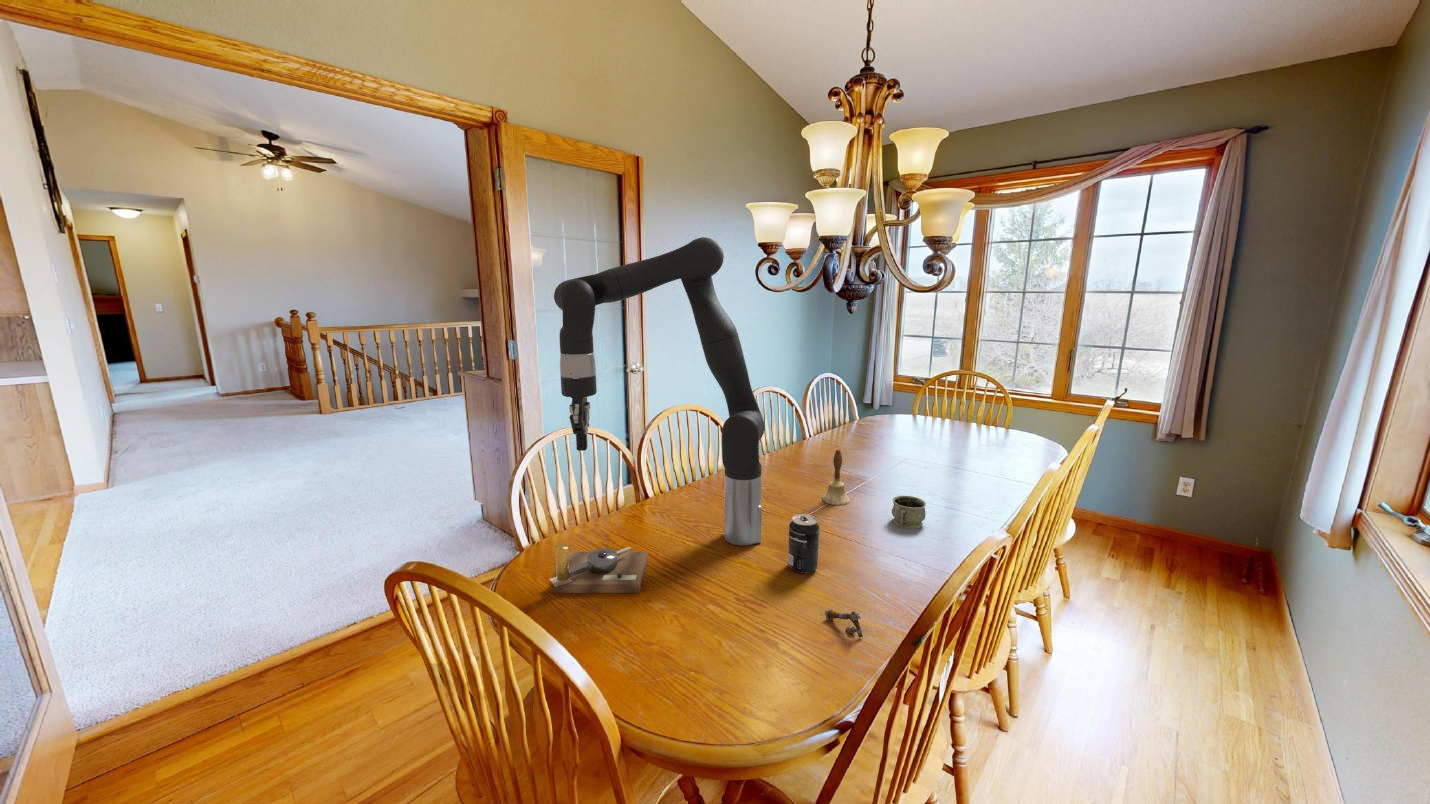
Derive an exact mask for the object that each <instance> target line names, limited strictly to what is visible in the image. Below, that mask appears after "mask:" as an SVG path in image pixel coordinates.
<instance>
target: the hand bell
mask: <svg viewBox="0 0 1430 804" xmlns="http://www.w3.org/2000/svg"><path fill="white" fill-rule="evenodd" d="M832 463H833V467H834V476H833V480H831V481H829V484H828V488H827V490H826V491H827V492H826V493H825V494H823V495H822V498H821V499H822V501H823V502H824V503H826V504H827V505H828V504H829V505H832V506H833V505H834V506H845V505H849V504H850V502H851V499H850V498H849V496H848V495H847V493H846V490H845V483H844V482H843V481H841V469H842V464H843V456H842V452H841V449H836V450H835V452H834V456H833V462H832Z"/></svg>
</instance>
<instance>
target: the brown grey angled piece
mask: <svg viewBox="0 0 1430 804" xmlns="http://www.w3.org/2000/svg"><path fill="white" fill-rule="evenodd" d="M824 615H825V618H826V619H825V620H826V621H828V622H830V621H832V620H833V619H839V620H844V621H847V620H850V622H851V623H852V624H853V626H851V625H849V626H847V627H846V628H845V631H846V632H847V633H851V635H852V634H854V633H856V634H857V636H858V638H863V637H864V635H863V630H862V628H861V626H860V623H859V620H860V619H861V615H860V613H857V612H856V611H851V613H849V612H837V611H833V608H829V609H827V610H825V611H824Z"/></svg>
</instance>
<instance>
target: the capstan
mask: <svg viewBox="0 0 1430 804" xmlns="http://www.w3.org/2000/svg"><path fill="white" fill-rule="evenodd" d="M589 552H590V553H589V554H588V557H587V558H588V562H586V563H583V564H580V565H578V566H575V567H573V568H570V569H569V557H568V556H569V545H567V544H566V543H561V544H557V545H555V547H554V555H555V558H554V559H555V570H556V571H555V572H556V577H557V580H558V581H566V580H568V579H569V578H570V577H572V576H575V575H577V574H580V573H582V572H585V571H587V570H590V571H592V572H595V573H605V572H609V571H611V570H613V569H615V568H616V567H617V556H619V555H621V554H624V553H626V552H632V547H631V546H627V547H625V548H621V549H620V550H617V551H616V550H614V549H612V548H598V549H594V550H593V551H589Z"/></svg>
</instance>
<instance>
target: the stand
mask: <svg viewBox="0 0 1430 804" xmlns="http://www.w3.org/2000/svg"><path fill="white" fill-rule="evenodd" d="M590 552H591V551H570V552H569V553H568V557H569V569H570V568H573V567H575V566H578V565H580V564H583V563H586V562H588V558H587V557H588V554H589V553H590ZM647 563H648V551H629V552H626V553H624V554H621V555H619V556H617V567H616V568H615V569H613V570H611V571H609V572H605V573H595V572H592V571H590V570H587V571H585V572H582V573H580V574H577V575H575V576H572V577H570V578H569V579H568V580H566V581H558V580H557V576H554V577H551V578H549V580H550V581H551V583H552V589H553V590H552V591H553V594H585V593H586V594H627V593H628V594H630V593H631V594H639V593H640V592H641V587H642V583H643V579H644V575H645V571H646V568H647Z"/></svg>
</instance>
